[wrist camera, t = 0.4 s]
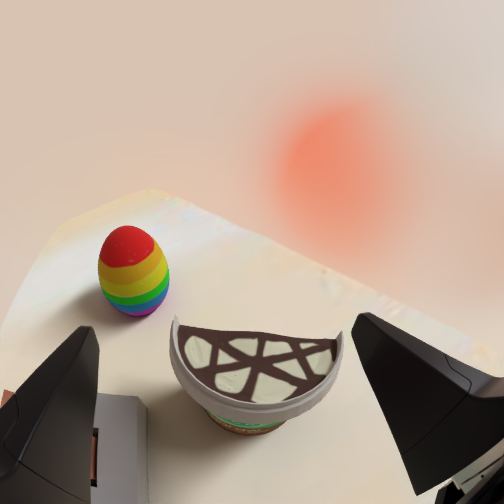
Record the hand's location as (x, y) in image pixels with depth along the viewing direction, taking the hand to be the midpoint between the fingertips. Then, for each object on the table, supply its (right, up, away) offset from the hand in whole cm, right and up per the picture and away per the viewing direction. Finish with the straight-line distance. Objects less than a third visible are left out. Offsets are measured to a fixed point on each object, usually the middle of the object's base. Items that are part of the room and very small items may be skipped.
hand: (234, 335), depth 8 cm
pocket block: (-14, -15, +6) cm, 22 cm away
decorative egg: (-13, -3, +23) cm, 26 cm away
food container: (0, -12, +13) cm, 18 cm away
